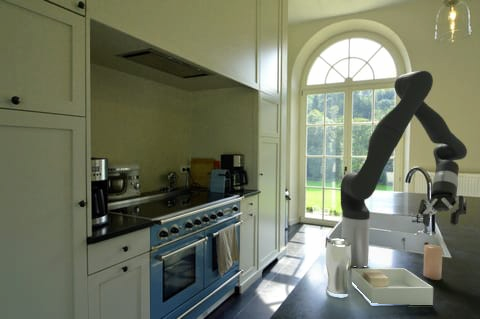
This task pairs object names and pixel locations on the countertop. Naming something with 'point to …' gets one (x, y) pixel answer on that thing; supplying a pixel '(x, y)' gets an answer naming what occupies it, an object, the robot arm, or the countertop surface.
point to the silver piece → (338, 265)
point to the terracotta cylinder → (432, 261)
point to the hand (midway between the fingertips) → (439, 224)
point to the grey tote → (395, 287)
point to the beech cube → (375, 278)
